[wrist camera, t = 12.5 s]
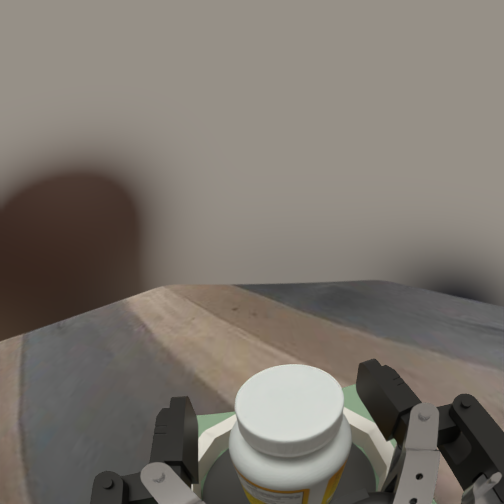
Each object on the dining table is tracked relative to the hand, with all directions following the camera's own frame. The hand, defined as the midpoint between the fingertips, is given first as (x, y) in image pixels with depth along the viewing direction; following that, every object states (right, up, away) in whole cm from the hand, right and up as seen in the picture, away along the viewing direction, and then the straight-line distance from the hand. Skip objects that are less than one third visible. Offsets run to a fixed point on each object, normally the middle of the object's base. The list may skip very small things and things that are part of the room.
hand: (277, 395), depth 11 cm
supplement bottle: (+1, -8, 0) cm, 8 cm away
